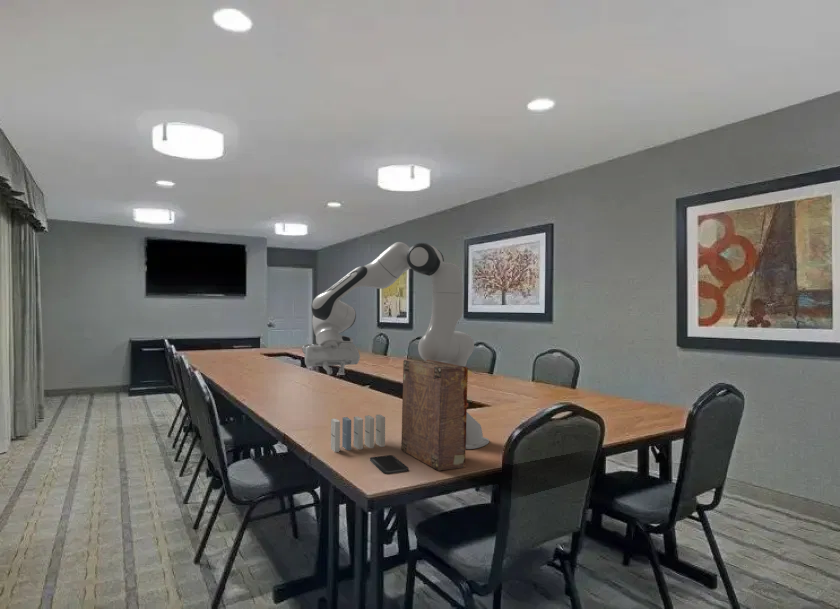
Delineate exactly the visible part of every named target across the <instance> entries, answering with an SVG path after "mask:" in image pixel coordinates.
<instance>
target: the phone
mask: <svg viewBox="0 0 840 609" xmlns="http://www.w3.org/2000/svg"><path fill="white" fill-rule="evenodd" d="M369 462H370V463H371V464H373V465H374V466H375V467H376V468H377V469H378V470H379V471H380V472H381V473H382V474H384V475H390V474H391V475H392V474H398V473H407V472H408V471H409V467H408V466H407V465H406V464H405V463H403V461H401V460H400V459H398V458H397V457H396V456H395V455H392V454H391V455H390V454H389V455H381V456H380V455H379V456H371V457H369Z"/></svg>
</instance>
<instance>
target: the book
mask: <svg viewBox="0 0 840 609" xmlns="http://www.w3.org/2000/svg"><path fill="white" fill-rule="evenodd" d="M402 368H403V369H402V408H401V409H402V412H401V444H400V445H401V446H400V447H401V448H400V449H401V451H402V452H404V453H406V454H407V455H410V456H411V457H413V458H415V459H417V460H418V461H419V462H422V463H423V464H425V465H427V466H429V467H431V469H434V470H436V471H438V472H441V471H446V470H454V469H461V468H465V467H466V450H467V449H466V416H467V413H468V408H467V406H468V405H467V403H468V377H469V376H468V375H469V368H468V367H467V366H465V367H464V366H459V365H454V364H449V363H444V362H439V361H434V360H429V359H427V360H426V361H425V360H420V361H419V360H417V361H416V360H415V361H412V360H408V359H403V363H402Z"/></svg>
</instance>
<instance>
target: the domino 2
mask: <svg viewBox="0 0 840 609" xmlns="http://www.w3.org/2000/svg"><path fill="white" fill-rule="evenodd" d="M341 428H342V437H341V438H342V443H341V445H342V446H341V448H343V447H344V448H345V449H346V450H347V451H351V450H352V419H350V418H349V417H348V416H344V417H342V427H341ZM344 448H343V449H344ZM345 449H344V450H345ZM346 450H345V451H346Z"/></svg>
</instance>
